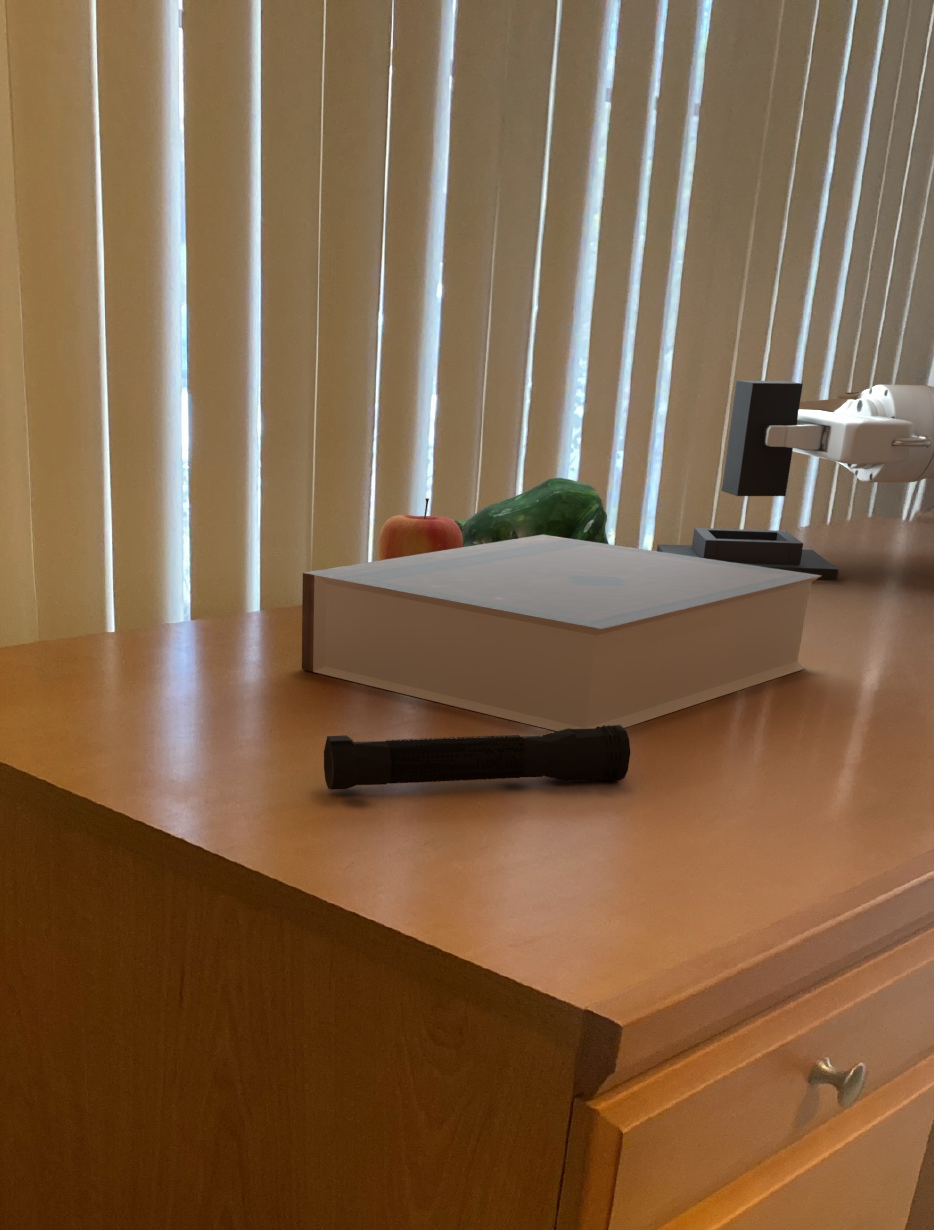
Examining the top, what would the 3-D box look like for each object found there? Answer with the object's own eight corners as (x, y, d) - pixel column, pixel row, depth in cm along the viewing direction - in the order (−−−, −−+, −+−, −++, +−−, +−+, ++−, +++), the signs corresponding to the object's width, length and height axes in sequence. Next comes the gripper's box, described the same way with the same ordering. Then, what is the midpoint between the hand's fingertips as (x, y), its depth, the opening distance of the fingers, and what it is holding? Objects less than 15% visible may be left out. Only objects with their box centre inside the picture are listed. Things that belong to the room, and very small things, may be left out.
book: (301, 669, 103) (302, 572, 99) (535, 617, 121) (542, 534, 118) (589, 739, 88) (601, 629, 85) (806, 668, 106) (822, 575, 103)
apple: (369, 601, 126) (372, 503, 122) (385, 586, 132) (388, 493, 128) (453, 606, 124) (458, 507, 120) (465, 591, 131) (471, 497, 127)
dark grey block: (768, 491, 145) (785, 381, 140) (785, 496, 142) (803, 383, 137) (721, 491, 144) (736, 380, 140) (737, 496, 141) (753, 382, 136)
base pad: (811, 559, 151) (816, 529, 150) (836, 579, 141) (842, 547, 139) (656, 554, 152) (659, 524, 151) (669, 573, 142) (673, 541, 140)
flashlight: (627, 787, 80) (633, 733, 78) (333, 800, 76) (334, 744, 75) (606, 771, 82) (612, 718, 81) (322, 783, 79) (323, 728, 78)
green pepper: (580, 533, 144) (432, 541, 142) (595, 448, 138) (441, 455, 135) (619, 611, 136) (463, 621, 134) (637, 524, 129) (473, 533, 127)
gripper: (934, 481, 135) (793, 480, 133) (834, 458, 153) (709, 457, 151) (948, 406, 132) (805, 405, 130) (845, 392, 150) (718, 390, 148)
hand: (753, 433), depth 140 cm, fingers closed on dark grey block, 4 cm apart
